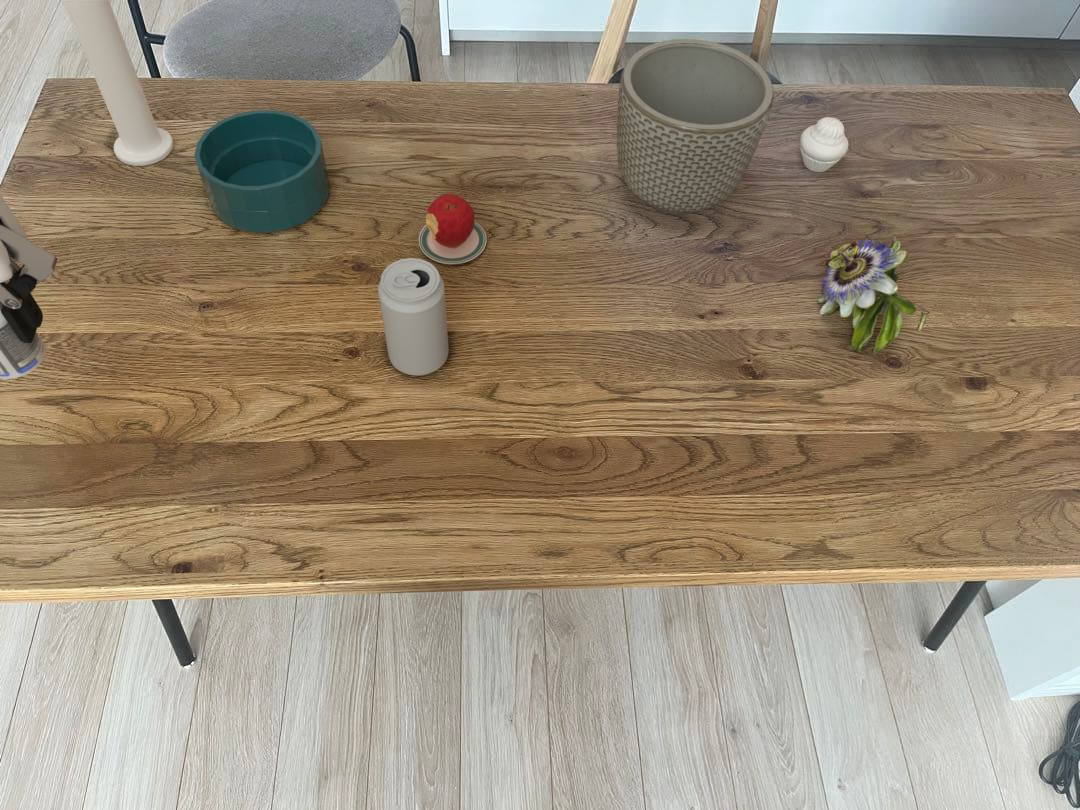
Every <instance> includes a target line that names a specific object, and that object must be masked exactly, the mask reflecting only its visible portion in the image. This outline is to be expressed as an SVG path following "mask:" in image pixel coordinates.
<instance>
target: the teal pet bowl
mask: <svg viewBox="0 0 1080 810" xmlns="http://www.w3.org/2000/svg"><path fill="white" fill-rule="evenodd" d="M193 155H194V160H195V163H196V167H197V170H198V173H199V176H200V178H201V182H202V185H203V188H204V190H205V194H206V196H207V199H208V202H209V205H210V208H211V210H212V212H213V213H214V214H215V215H216V216H217V218H218V219H219V220H220V221H221V222H223V223H224V224H226V225H228V226H230V227H232V228H234V229H235V230H236V229H237V230H240V231H241V230H242V231H245V232H251V233H275V232H279V231H284V230H287V229H292V228H295V227H297V226H299V225H301V224H303V223H305V222H307V221H309V220H310V219H312V218H313V217H314V216H315V215H316V214H317V213H319V212H320V211H321V210H322V209H323V208H324V205H325V204H326V202H327V200H328V198H329V196H330V180H329V175H328V174H329V173H328V169H327V163H326V158H325V154H324V147H323V143H322V139H321V136H320V135H319V132H318V130H317V129H316V128H315V126H313V125H312V124H311V123H310V122H309V121H308V120H307V119H305V118H302V117H300V116H298V115H296V114H294V113H291V112H287V111H280V110H276V109H256V110H249V111H245V112H240V113H236V114H233V115H231V116H229V117H226V118H223V119H221V120H219V121H217V122H216V123H215V124H213V125H212V126H211V127H209V128H208V129H207V130H205V131H204V133H202V135H201V137H200V138H199V139H198V141H197V142H196V146H195V150H194V154H193Z"/></svg>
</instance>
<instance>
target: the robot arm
mask: <svg viewBox="0 0 1080 810" xmlns="http://www.w3.org/2000/svg"><path fill="white" fill-rule="evenodd" d="M17 262H18V263H20V264H21V265H22V266H20V265H19V264H18V263H17ZM57 264H58V258H57V256H56V255H55V254H54V253H53V254H52V253H51V252H50V251H47V250H46V249H44V248H42V247H41V246H39V245H37V244H36V243H33V242H32V241H31V240H29V239H27V233H26V232H25V229H24V228H23V226H22V225H21V223H20V221H19V220H18V218H17V216H16V215H15V213H14V211H13V210H12V209H11V207H10V206H9V205H8V203H7V201H6V200H5V198H4V197H3V195H1V193H0V301H1V302H2V303H3V306H2V309H1V313H2V315H3V316H4V318H5V319H6V321H7V322H8V323H9V325H10V326H11V328H12V329H13V331H14V332H15V334H16V335H17V337H18V338H19V340H20V341H22V342H23V343H32V342H33V339H34V336H35V333H36V332H37V329H38V328H41V326H42V323H43V320H44V313H43V311H42V309H41V307H40V305H39V304H38V303H37V301H36V299H35V298H34V296H33V294H32V292H34V289H36V287H37V285H38V284H39V283H42V282H43V281H45V280H46V279H48V278H50V276H51V275H53V274H54V273H55V272H54V271H55V269H56V266H57ZM6 282H7V283H6Z"/></svg>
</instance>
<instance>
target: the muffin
mask: <svg viewBox="0 0 1080 810" xmlns="http://www.w3.org/2000/svg"><path fill="white" fill-rule="evenodd" d="M799 148H800V149H799V150H800V155H801V158H802V161H803V164H804V166H805V168H806V169H808V170H809V171H810V172H814V173H823V172H826V171H828V170H829V169H831V168H832V167H833V166H834V165H836V164H837V163H838V162H839V161H840V160H841V159H842V158H843V157H844V156H845V155H846V154H847V152H848V149H849V140H848V137H846V135H845V127H844V124H843V122H842V121H840V119H838V118H836V117H832V116H829V117H828V116H825V117H822V118H820V119H819V120H818V121H816V124H812V125H810V126H808V127H807V128H806V129H804V130H803V131H802V133H801V135H800V139H799Z"/></svg>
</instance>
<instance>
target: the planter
mask: <svg viewBox="0 0 1080 810" xmlns="http://www.w3.org/2000/svg"><path fill="white" fill-rule="evenodd" d="M773 103H774V86H773V82H772V80H771V78H770V76H769V74H768V73H767V72H766V71H765V69H764V68H763V67H762V66H761V65H760V64H759V63H758V62H757V61H755V59H753V58H751V57H750V56H748V55H746V54H745V53H743V52H741V51H740V50H738V49H735V48H733V47H731V46H728V45H724V44H722V43H719V42H714V41H709V40H704V39H695V38H673V39H668V40H662V41H659V42H654V43H652V44H649V45H647V46H644V47H643V48H640V50H637V51H636V52H635V53H633V54H632V55H631V56H630V57H629V59H628V60H627V61H626V62H625V65H624V67H623V68H622V73H621V75H620V80H619V86H618V97H617V114H616V116H617V118H616V154H617V155H616V156H617V165H618V169H619V172H620V175H621V178H622V180H623V181H624V183H625V185H626V186H627V188H628V189H629V190H630V191H631V192H632V193H633V194H634V195H635V196H636V197H637V198H639V199H640V200H641V201H643V202H645V204H647V205H648V206H649V208H652V209H653V210H655V211H656V212H659V213H662V214H666V215H670V216H687V215H691V214H693V213H696V212H701V211H705V210H709V209H712V208H713V207H715V206H717V205H719V204H721V203H723V202H724V201H725V200H727V199H728V198H729V197H730V196H731V195H732V193H734V192H735V190H736V189H737V188H738V186H739V184H740V182H741V181H742V179H743V177H744V176H745V174H746V172H747V171H748V168H749V166H750V163H751V162H752V159H753V157H754V155H755V152H756V151H757V148H758V145H759V143H760V141H761V138H762V135H763V133H764V131H765V128H766V126H767V123H768V119H769V117H770V115H771V111H772V107H773Z"/></svg>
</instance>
